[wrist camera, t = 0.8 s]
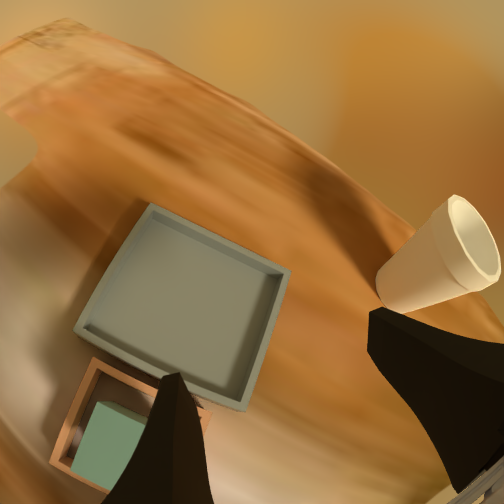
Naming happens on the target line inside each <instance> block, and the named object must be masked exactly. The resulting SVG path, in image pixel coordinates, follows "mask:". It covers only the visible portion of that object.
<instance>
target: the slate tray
mask: <svg viewBox="0 0 504 504" xmlns="http://www.w3.org/2000/svg"><path fill="white" fill-rule="evenodd" d="M290 274H291V271H290V270H288V269H286V268H284V267H282V266H280V265H278V264H276V263H274V262H272V261H270V260H268V259H266V258H264V257H262V256H260V255H258V254H256V253H254V252H251V251H249V250H247V249H245V248H243V247H241V246H239V245H237V244H235V243H233V242H231V241H229V240H227V239H225V238H223V237H221V236H219V235H217V234H215V233H213V232H210V231H208V230H206V229H204V228H202V227H200V226H198V225H196V224H194V223H192V222H190V221H188V220H186V219H184V218H182V217H180V216H178V215H176V214H174V213H172V212H170V211H167V210H165V209H163V208H161V207H159V206H157V205H155V204H153V203H150V204H149V206H148V207H147V208H146V210H145V211H144V213H143V214H142V216H141V217H140V219H139V220H138V222H137V223H136V225H135V226H134V228H133V229H132V231H131V232H130V234H129V235H128V237H127V238H126V240H125V241H124V243H123V244H122V246H121V247H120V249H119V251H118V252H117V254H116V255H115V257H114V259H113V260H112V262H111V263H110V265H109V267H108V268H107V270H106V272H105V273H104V275H103V277H102V278H101V280H100V282H99V283H98V285H97V287H96V288H95V290H94V292H93V294H92V295H91V297H90V299H89V301H88V303H87V304H86V306H85V308H84V310H83V312H82V313H81V315H80V317H79V319H78V321H77V323H76V325H75V327H74V328H73V330H72V331H73V332H74V333H75V334H76V335H77V336H78V337H80V338H81V339H83V340H85V341H86V342H88V343H90V344H92V345H93V346H95V347H97V348H98V349H100V350H102V351H104V352H106V353H107V354H109V355H111V356H113V357H115V358H117V359H118V360H120V361H122V362H124V363H126V364H128V365H130V366H132V367H134V368H136V369H138V370H140V371H142V372H144V373H146V374H148V375H150V376H152V377H154V378H156V379H159V380H161V378H162V377H163V376H164V375H168V374H173V373H177V372H180V374H181V376H182V378H183V380H184V382H185V384H186V386H187V388H188V391H189V393H190V394H193V395H195V396H198V397H200V398H203V399H205V400H208V401H210V402H213V403H215V404H218V405H221V406H223V407H226V408H229V409H232V410H234V411H237V412H246V409H247V406H248V403H249V400H250V398H251V395H252V392H253V389H254V386H255V383H256V380H257V377H258V374H259V372H260V369H261V366H262V363H263V360H264V357H265V354H266V351H267V348H268V345H269V341H270V338H271V335H272V332H273V329H274V326H275V323H276V320H277V317H278V313H279V310H280V307H281V304H282V301H283V297H284V294H285V291H286V288H287V284H288V281H289V278H290Z"/></svg>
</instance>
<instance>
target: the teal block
mask: <svg viewBox="0 0 504 504" xmlns="http://www.w3.org/2000/svg"><path fill="white" fill-rule="evenodd" d="M147 420H148V418H147V417H145V416H143V415H140V414H138V413H136V412H134V411H132V410H130V409H128V408H126V407H124V406H122V405H120V404H118V403H116V402H114V401H97V403H96V406H95V408H94V410H93V413H92V415H91V418H90V420H89V422H88V425H87V427H86V430H85V432H84V435H83V437H82V440H81V442H80V445H79V447H78V450H77V453H76V455H75V458H74V461H73V463H72V466H71V469H70V471H72V472H74V473H76V474H78V475H79V476H81V477H83V478H85V479H87V480H89V481H91V482H93V483H95V484H97V485H99V486H101V487H103V488H105V489H108V490H110V491H111V490H112V488H113V487H114V485H115V484H116V482H117V481H118V479H119V477H120V476H121V474H122V473H123V471H124V469H125V467H126V466H127V464H128V462H129V460H130V458H131V456H132V454H133V452H134V450H135V448H136V446H137V444H138V442H139V439H140V437H141V435H142V432H143V430H144V428H145V425H146V423H147Z"/></svg>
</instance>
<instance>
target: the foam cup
mask: <svg viewBox="0 0 504 504" xmlns="http://www.w3.org/2000/svg"><path fill="white" fill-rule="evenodd" d="M500 273H501V264H500V256H499V252H498V249H497V246H496V243H495V240H494V238H493V236H492V234H491V232H490V230H489V228H488V226H487V224H486V222H485V221H484V220H483V218H482V217H481V216H480V214H479V213H478V211H477V210H476V209H475V208H474V207H473V206H472V205H471V204H470V203H469V202H468V201H466V200H465V199H464V198H462V197H460V196H457V195H453V196H452V197H450V198H449V199H448V200H447V201H445V202H444V203H443V204H442V205H441V206H439V207H438V208H437V209H436V210H435V211H434V212H432V216H431V217H430V218H429V219H428V220H427V222H426V223H425V224H424V225H423V226H422V227H421V228H420V229H419V230H418V231H417V232H416V233H415V234H414V235H413V236H412V237H411V238H410V239H409V240H408V241H407V242H406V243H405V244H404V245H403V246H402V247H401V248H400V249H399V250H398V251H397V252H396V253H395V254H394V255H393V256H392V257H391V258H390V259H389V260H388V261H387V262H386V263H385V264H384V265H383V266H382V267H381V269H379V270H378V272H377V276H376V279H375V281H376V290H377V293H378V295H379V297H380V300H381V302H382V303H383V304H384V305H385V306H386V307H387V308H388V309H390V310H393V311H395V312H398V313H400V314H401V313H406V312H410V311H414V310H417V309H420V308H424V307H427V306H430V305H433V304H436V303H440V302H443V301H446V300H449V299H452V298H455V297H458V296H461V295H463V294H466V293H469V292H474V291H480V290H482V289H484V288H486V287H488V286H489V285H491V284H493V283H495V282H497V281H498V279H499V276H500Z"/></svg>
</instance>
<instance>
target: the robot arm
mask: <svg viewBox="0 0 504 504" xmlns="http://www.w3.org/2000/svg"><path fill="white" fill-rule="evenodd" d="M367 352H368V354H369V355H370V357H371V358H372V360H373V362H374V363H375V365H376V366H377V368H378V369H379V371H380V372H381V373H382V375H383V376H384V377H385V378H386V379H387V381H388V382H389V383H390V384H391V385H392V387H393V388H394V389H395V390H396V391H397V392H398V394H399V395H400V396H401V397H402V398H403V399H404V401H405V402H406V403H407V404H408V405H409V407H410V408H411V409H412V411H413V412H414V413H415V415H416V416H417V418H418V419H419V421H420V422H421V424H422V425H423V427H424V429H425V430H426V432H427V434H428V435H429V437H430V439H431V441H432V442H433V444H434V446H435V448H436V450H437V452H438V454H439V456H440V458H441V460H442V462H443V464H444V466H445V469H446V471H447V473H448V476H449V478H450V481H451V484H452V486H453V488H454V490H456V492H457V493H458V494H459V493H460V494H459V495H458V496H457V497H455V498H454V499H452V500H451V501H450V502H448V503H447V504H472V503H473V502H474V501H475V500H476V499H477V498H479V497H480V496H481V495H482V494H483V493H485V494H484V500H483V501H482V502H481V503H480V504H504V344H501V343H493V342H486V341H481V340H476V339H472V338H467V337H463V336H460V335H456V334H453V333H450V332H447V331H444V330H441V329H438V328H435V327H432V326H430V325H427V324H425V323H422V322H420V321H417V320H415V319H412V318H410V317H407V316H405V315H402V314H400V313H398V312H395V311H393V310H390V309H387V308H384V307H380V308H378V309H375V310H373V311H370V312H369V327H368V344H367ZM486 471H487V472H486ZM485 472H486V473H485ZM484 473H485V474H484ZM481 475H482V476H481ZM480 476H481V477H480ZM479 477H480V478H479ZM478 478H479V479H478ZM477 479H478V480H477ZM474 481H475V482H474ZM473 482H474V483H473ZM472 483H473V484H472ZM471 484H472V485H471ZM469 485H470V486H469ZM468 486H469V487H468ZM467 487H468V488H467ZM466 488H467V489H466ZM464 489H466V490H464ZM463 490H464V491H463ZM462 491H463V492H462ZM461 492H462V493H461ZM101 504H214V502H213V498H212V495H211V490H210V485H209V479H208V472H207V464H206V456H205V448H204V440H203V431H202V427H201V423H200V418H199V414H198V410H197V406H196V404H195V402H194V401H193V399H192V397H191V395H190V393H189V391H188V388H187V386H186V384H185V382H184V380H183V378H182V376H181V374H180V372H177V373H173V374H168V375H164V376H163V377H162V378H161V381H160V385H159V388H158V391H157V394H156V397H155V400H154V403H153V406H152V409H151V412H150V415H149V417H148V420H147V423H146V425H145V428H144V430H143V432H142V435H141V437H140V439H139V442H138V444H137V446H136V448H135V450H134V452H133V454H132V456H131V458H130V460H129V462H128V464H127V466H126V467H125V469H124V471H123V473H122V474H121V476H120V477H119V479H118V481H117V482H116V484H115V485H114V487H113V488H112V490H111V491H110V493H109V494H108V495H107V497H106V498H105V499H104V500H103V502H102V503H101Z"/></svg>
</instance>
